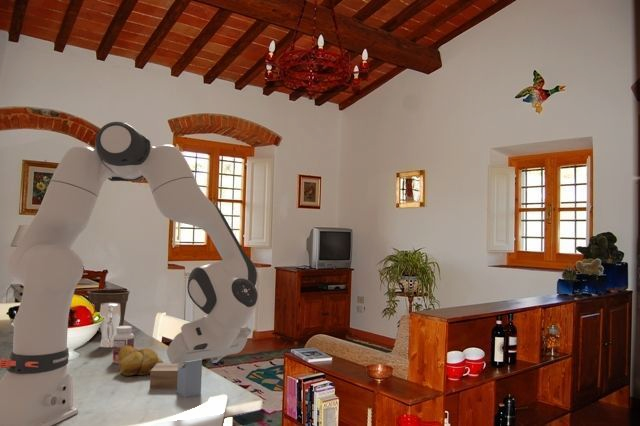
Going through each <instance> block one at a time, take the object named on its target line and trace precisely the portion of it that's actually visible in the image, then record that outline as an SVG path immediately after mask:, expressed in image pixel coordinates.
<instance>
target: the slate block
mask: <svg viewBox="0 0 640 426" xmlns="http://www.w3.org/2000/svg"><path fill="white" fill-rule="evenodd" d="M186 364H187V365H186V367H185V368H182V369H179V368H178V381H177V389H176V393H177V394H178V395H180V396H181V397H183V398H189V397H193V396H199V395H201V394H202V377H203V376H202V374H203V373H202V371H203V359H199V360H193V361H187V362H186Z"/></svg>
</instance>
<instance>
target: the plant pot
mask: <svg viewBox="0 0 640 426" xmlns="http://www.w3.org/2000/svg"><path fill="white" fill-rule="evenodd" d="M130 293H131V291H130V290H127V289H115V288H113V289H109V288H106V289H104V288H103V289H102V288H101V289H91V290H88V291H87V294H88V301H89V300H90V301H91V302H92V303H93V304H94V305H95V310H96V311H97V312H100V308H101V304H103V303H120V323H119V326H124V323H125V322H124V321H125V315H126V307H127V302H128V300H129V296H130ZM97 333H100V334H101V328H99V331H98V332H97Z"/></svg>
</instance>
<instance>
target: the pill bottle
mask: <svg viewBox="0 0 640 426" xmlns="http://www.w3.org/2000/svg"><path fill="white" fill-rule="evenodd" d="M132 330H133V326H131V325H123V326H119V327H117V328H116V332H117V334H115V335H114V341H113V347H112V348H113V349H112V361H113V363H114V364H116V365H117V364H118V365H119V362H120V360H119V358H118V355H119V351H120V349H121V347H122V346H124V345H129V346H131V347H133V348H135V347H134V346H135V335H134V333H132Z"/></svg>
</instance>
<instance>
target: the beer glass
mask: <svg viewBox="0 0 640 426" xmlns="http://www.w3.org/2000/svg"><path fill="white" fill-rule="evenodd" d="M100 316H101V317H103V318H104V321H103V322H102V323H101V325H100V328H101V333H100V335H101V336H100V337H101V338H100V342H99V348H103V349H104V348H105V349H108V348H110V349H112V348H113V341H114V335H115V334H117V332H116V328H117V327H119V323H120V303H103V304H101V308H100Z"/></svg>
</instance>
